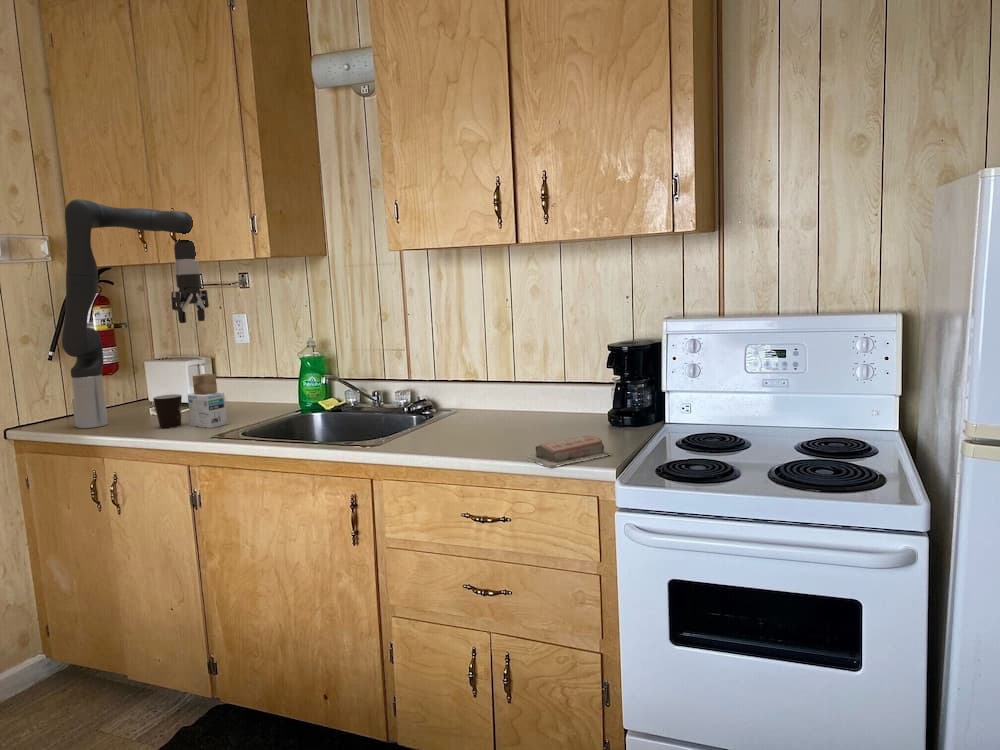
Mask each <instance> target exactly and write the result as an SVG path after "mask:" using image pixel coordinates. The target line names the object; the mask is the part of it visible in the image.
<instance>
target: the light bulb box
mask: <svg viewBox="0 0 1000 750" xmlns="http://www.w3.org/2000/svg"><path fill="white" fill-rule="evenodd" d="M225 397H226V396H225V392H215V393H211V394H207V395H200V394H194V392H193V393H188V394H187V402H188V409H189V411H188V412H189V421H190V426H191V427H196V426H198V428H205V427H206V428H208V429H212V428H217V427H220V426H222V427H223V426H225V425H228V417H227V409H226V399H225ZM206 428H205V429H206Z"/></svg>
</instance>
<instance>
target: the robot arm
mask: <svg viewBox="0 0 1000 750" xmlns="http://www.w3.org/2000/svg"><path fill="white" fill-rule="evenodd" d="M188 213H189V212H185V211H179V210H178V211H176V210H158V209H154V208H153V209H152V208H138V207H137V208H135V207H134V208H133V207H131V208H123V207H115V206H108V205H106V204H104V205H103V204H101V203H97V202H94V201H91V200H86V199H73V200H70V201H69V202H68V203H67V205H66V207H65V209H64V223H65V233H66V267H65V268H66V269H65V272H66V274H65V313H64V322H63V329H62V334H61V343H62V344H61V345H62V348H63V350H64V352H65V353H66V354H67V355H68V356H70V357H73V358H76V361H75V364H74V365H73V366H72V368H70V376H71V379H70V380H71V386H72V393H73V394H72V395H73V398H72V400H71V404H72V411H73V412H72V414H73V419H74V421H73V422H74V426H75V428H77V429H90V428H91V429H92V428H98V427H99V428H100V427H104V426H107V425H108V423H109V422H108V414H107V407H106V406H107V405H106V396H105V388H104V380H103V379H104V378H103V367H104V351H103V349H104V348H103V340H102V337H101V335H100V333H99V332H98V331H97V330H96V329H94V328H91V327H88V316H89V311H90V310H91V306H92V305H93V302H94V301H95V298H96V295H97V293H98V285H99V282H98V281H99V272H98V270H99V269H98V265H97V262H96V259H95V256H94V253H93V249H92V244H91V243H92V242H91V240H92V239H91V238H92V229H99V228H101V229H102V228H112V227H113V228H114V227H116V228H125V229H132V230H137V231H146V232H148V231H149V232H166V233H175V234H177V233H182V234H186V233H189V232H190V231H191V229H192V227H193V220H192V217H191V216H190V215H189V214H188ZM173 245H174V247H173V249H174V260H175V261H174V270H175V282H176V287H177V289H178V291H171V309H172V310H173V311H176V312H177V317H178V322H179V324H186V323H187V317H186V316H187V314H186V309H187V307H188V306H189V305H193V306H195V308H196V309H197V311H196V313H197V314H196V315H197V320H198V322H205V318H206V316H205V315H206V313H205V310H206V309H207V308H210V307H209V305H210V304H209V297H208V291H207V289H206V290H205V289H200V287H202V282H201V280H202V279H201V269H200V262H199V260H198V261H194V260H195V256H196V252H195V246H194V243H193V242H192V241H189V240H180V239H179V240H178V241H177V240H176V242H175V243H174V244H173Z"/></svg>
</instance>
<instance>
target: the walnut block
mask: <svg viewBox="0 0 1000 750" xmlns="http://www.w3.org/2000/svg"><path fill="white" fill-rule="evenodd" d="M216 375H217V374H216V373H200V374H197V375H192V383H193V393H194V394H200V395H207V394H211V393H215V392H216V393H218V386H217V385H218V383H217V376H216Z"/></svg>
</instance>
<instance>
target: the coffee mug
mask: <svg viewBox="0 0 1000 750" xmlns="http://www.w3.org/2000/svg"><path fill="white" fill-rule="evenodd" d="M152 399H153V402H154V407H155V411H156V416H157V420H158V425H159V428H160V429H171V428H170V427H174V428H178V427H177V426H179V427H181V426H182V401H183V399H182V394H178V393H177V394H164V395H157V396H154V397H153V398H152ZM180 425H181V426H180Z"/></svg>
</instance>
